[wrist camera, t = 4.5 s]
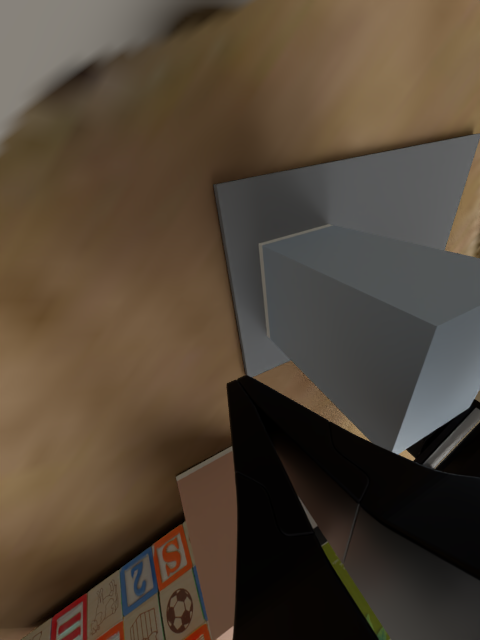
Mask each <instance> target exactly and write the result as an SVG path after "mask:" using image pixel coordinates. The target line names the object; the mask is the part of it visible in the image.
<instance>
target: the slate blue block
mask: <svg viewBox="0 0 480 640" xmlns="http://www.w3.org/2000/svg"><path fill="white" fill-rule="evenodd" d="M259 255H260V265H261V276H262V287H263V297H264V308H265V318H266V329H267V336H268V337H269V338H270V339H271V340H272V341H273V342H274V343H275V344H276V345H277V346H278V347H279V348H280V349H281V350H282V351H283V352H284V353H285V355H286V356H287V357H288V358H289V359H290V360H291V361H292V362H293V363H294V364H295V365H296V366H297V367H298V368H299V369H300V370H301V371H302V372H303V373H304V374H305V375H306V376H307V377H308V378H309V379H310V380H311V381H312V382H313V383H314V384H315V385H316V386H317V387H318V388H319V389H320V390H321V391H322V392H323V393H324V394H325V395H326V396H327V397H328V398H329V399H330V400H331V401H332V402H333V403H334V404H335V405H336V407H337V408H338V409H339V410H340V411H341V412H342V413H343V414H344V415H345V416H346V417H347V418H348V419H349V420H350V421H351V422H352V423H353V424H354V425H355V426H356V427H357V428H358V429H359V430H360V431H361V432H362V433H363V434H364V435H365V436H366V437H367V438H368V439H369V440H370V441H371V442H372V443H373V444H375V445H378V446H380V447H382V448H384V449H387V450H389V451H391V452H393V453H396V454H399V453H401V452H402V451H404V450H405V449H407V448H409V447H410V446H412V445H413V444H415V443H416V442H418V441H419V440H421V439H422V438H424V437H425V436H427V435H428V434H430V433H431V432H433V431H434V430H436V429H438V428H439V427H441V426H442V425H444V424H445V423H447V422H448V421H450V420H451V419H453V418H454V417H456V416H457V415H459V414H460V413H462V412H463V411H465V410H467V409H468V408H469V407H470V406H471V404H472V402H473V400H474V398H475V397H476V395H477V393H478V391H479V390H480V258H475V257H471V256H466V255H462V254H458V253H453V252H449V251H444V250H440V249H436V248H431V247H427V246H422V245H418V244H413V243H409V242H405V241H400V240H396V239H391V238H387V237H383V236H378V235H374V234H369V233H365V232H361V231H356V230H352V229H347V228H343V227H339V226H334V225H330V224H328V225H324V226H320V227H317V228H313V229H310V230H306V231H302V232H299V233H295V234H292V235H288V236H284V237H281V238H277V239H274V240H270V241H266V242H263V243H259Z"/></svg>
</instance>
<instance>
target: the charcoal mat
mask: <svg viewBox="0 0 480 640" xmlns="http://www.w3.org/2000/svg"><path fill="white" fill-rule="evenodd" d="M479 139H480V134H472V135H467V136H462V137H457V138H452V139H446V140H441V141H436V142H431V143H426V144H421V145H415V146H410V147H405V148H400V149H395V150H389V151H384V152H379V153H374V154H369V155H364V156H358V157H353V158H348V159H343V160H338V161H333V162H327V163H322V164H317V165H312V166H307V167H302V168H296V169H291V170H286V171H281V172H276V173H271V174H265V175H260V176H255V177H250V178H245V179H240V180H234V181H229V182H224V183H219V184H214V185H213V186H214V192H215V198H216V203H217V209H218V215H219V221H220V227H221V233H222V239H223V244H224V250H225V256H226V262H227V268H228V274H229V280H230V285H231V291H232V297H233V303H234V309H235V315H236V321H237V326H238V332H239V338H240V344H241V350H242V356H243V362H244V367H245V373H246V375H248V376H250V377H254V376H256V375H258V374H261V373H263V372H265V371H268V370H270V369H272V368H274V367H277V366H279V365H281V364H283V363H286V362H288V361H290V359H289V358H288V357H287V356H286V355H285V353H284V352H283V351H282V350H281V349H280V348H279V347H278V346H277V345H276V344H275V343H274V342H273V341H272V340H271V339H270V338H269V337H268V336H267V329H266V318H265V308H264V297H263V287H262V276H261V265H260V255H259V243H263V242H266V241H270V240H274V239H277V238H281V237H284V236H288V235H292V234H295V233H299V232H302V231H306V230H310V229H313V228H317V227H320V226H324V225H328V224H330V225H334V226H339V227H343V228H347V229H352V230H356V231H361V232H365V233H369V234H374V235H378V236H383V237H387V238H391V239H396V240H400V241H405V242H409V243H413V244H418V245H422V246H427V247H431V248H436V249H440V250H445V247H446V244H447V240H448V237H449V234H450V231H451V228H452V225H453V221H454V218H455V215H456V212H457V209H458V205H459V202H460V199H461V196H462V193H463V190H464V186H465V183H466V180H467V177H468V174H469V170H470V167H471V164H472V161H473V158H474V155H475V151H476V148H477V145H478V142H479Z"/></svg>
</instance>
